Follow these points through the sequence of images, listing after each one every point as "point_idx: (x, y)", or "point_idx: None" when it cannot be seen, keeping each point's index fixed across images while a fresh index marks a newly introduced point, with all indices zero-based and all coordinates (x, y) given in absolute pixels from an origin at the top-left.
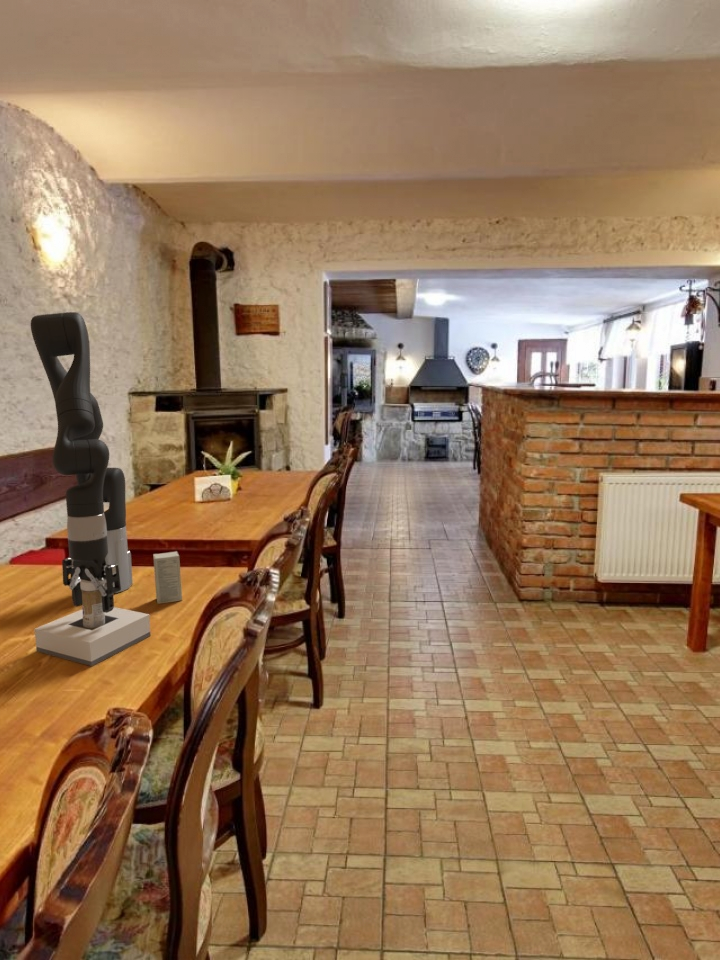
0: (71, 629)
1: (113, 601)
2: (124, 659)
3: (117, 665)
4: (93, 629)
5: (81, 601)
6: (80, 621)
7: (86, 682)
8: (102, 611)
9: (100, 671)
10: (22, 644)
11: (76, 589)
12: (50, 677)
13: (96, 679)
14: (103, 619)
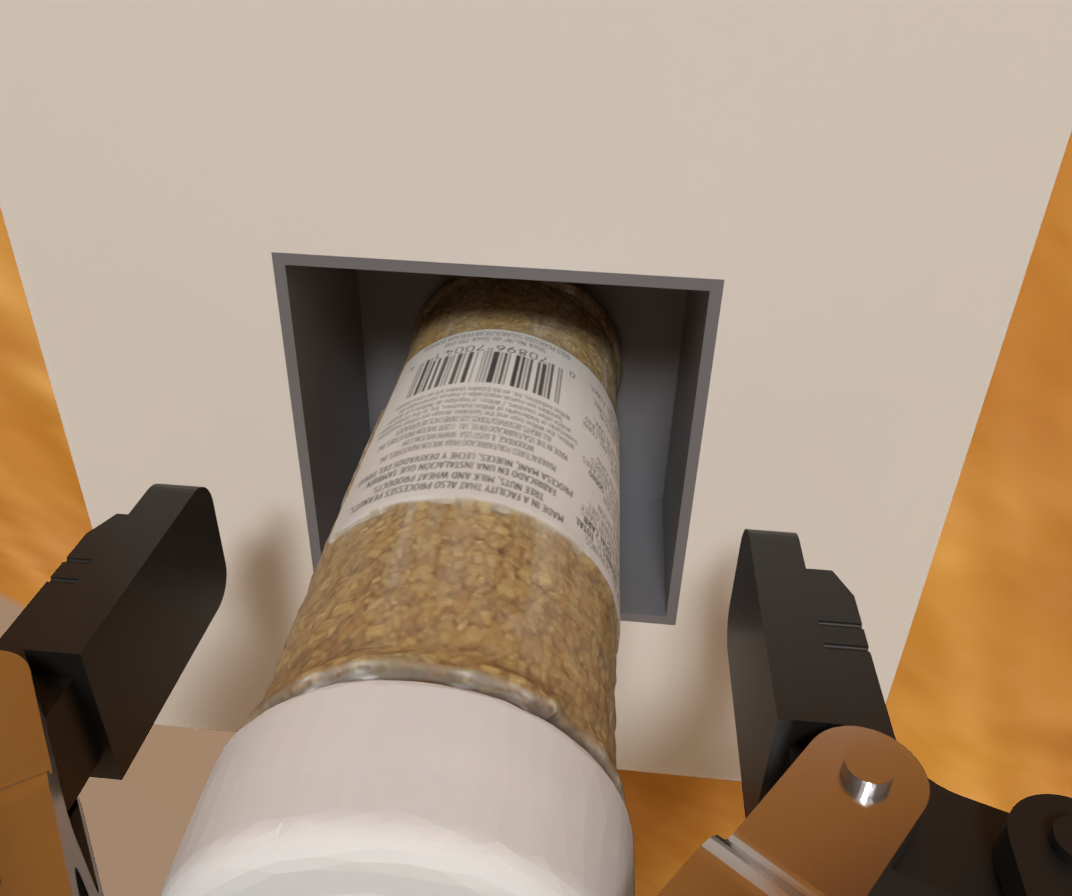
0: None
1: (867, 652)
2: (1015, 484)
3: (1015, 571)
4: (670, 604)
5: (192, 541)
6: (318, 455)
7: (938, 773)
8: (616, 521)
9: (937, 663)
10: (18, 533)
11: (91, 746)
12: (661, 780)
13: (982, 737)
14: (615, 445)
